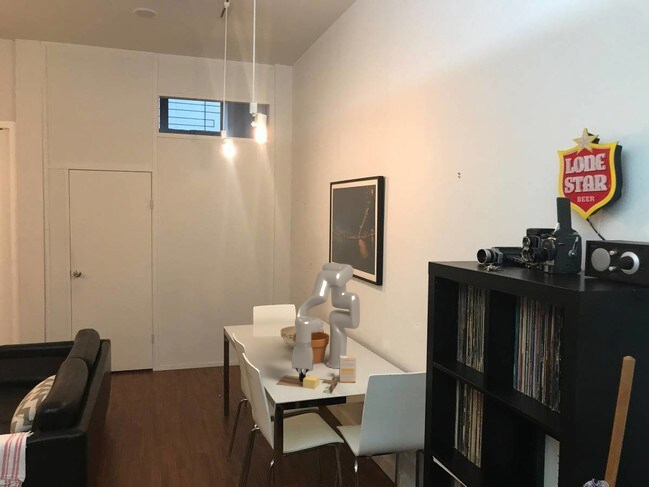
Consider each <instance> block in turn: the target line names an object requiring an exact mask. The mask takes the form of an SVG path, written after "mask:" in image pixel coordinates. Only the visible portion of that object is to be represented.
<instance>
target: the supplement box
mask: <svg viewBox="0 0 649 487" xmlns="http://www.w3.org/2000/svg"><path fill="white" fill-rule="evenodd" d="M338 369H339V371H338V372H339V374H338V376H339V377H338V381H339V383H351V384H352V383H356V376H357V375H356V374H357V372H356V371H357V356H356V355H355V354H353V355H350V354H349V355H348V354H346V355H340V368H338Z"/></svg>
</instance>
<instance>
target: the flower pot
mask: <svg viewBox="0 0 649 487" xmlns="http://www.w3.org/2000/svg"><path fill="white" fill-rule="evenodd" d="M292 338H293V339H292V340H293V341H294V342H295V341H296V332H295V333H293V335H292ZM293 341H292V342H293ZM328 344H329V345H330V334H328V333H326V332H322V331H319V332H317V333H311V347H312V350H313V365H314V364H315V365H316V364H319V363H322V362H323V361H324V358H325V355H326V352H327V351H326V350H327V346H328Z"/></svg>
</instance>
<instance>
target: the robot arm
mask: <svg viewBox="0 0 649 487" xmlns="http://www.w3.org/2000/svg"><path fill="white" fill-rule="evenodd" d="M353 275H354V268H353V266H352V265H351V264H348V263H337V262H327V263H324V264H323V265H322V270H320V271H319V272H318V273H317V275H316V280H315V282H314V286H313V289H312V292H311V294H310V296H309V298H307V299H305V301H303V303H301V304H300V305H299V307H298V310H297V313H296V315H295V321H294V326H295V329H296V330H295V333H296V341H295V342H294V341H292V345H295V346H294V347H293V348H292V349H293V350H292V354H291V355H292V358H291V369H292V370H295V371H296V372H297V373H298V377H299V380H300V382H303V379H304V378H305V377H306V376H307V374H308V372H312V371H314V364H313V350H312V347H311V333H317V332H322V331H321V330H322V329H323V327H324V322H323V320H322V319H321V318H319V317H315V316H310V315H307V314H308V311H309V310H310V309H312V308H314V307H316V306H319V305H322V304H325V303H326V302H327V301H328V298H329V294H330V298H331V300H330V301H331V305H332V307H334V308H336V309H334V310H330V312H329V316H328V322H329V332H330V333H329V354H328V355H329V356H328V357H329V358H328V360H329V361H327V362H326V367H328V368H330V369H331V368H332V369H339V368H340V355H347V344H348V335H347V331H346V329H348V330H349V329H352V330H356V329H357V328H359V326H360V321H361V315H360V314H361V311H360V310H361V308H360V306H361V303H360V302H361V301H360V297H359V295H358V294H357V293H355V292H350V291H347V283H348V282H349V281H351V279H352V277H354V276H353Z"/></svg>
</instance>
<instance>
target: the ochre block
mask: <svg viewBox="0 0 649 487" xmlns="http://www.w3.org/2000/svg"><path fill="white" fill-rule="evenodd" d="M319 386H320V377H319V376H314V375H306V377H305V378H304V379H303V387H306V388H305V389H312V390H313V389H314V390H315V389H316V388H317V387H319ZM303 387H302V388H303Z"/></svg>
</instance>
